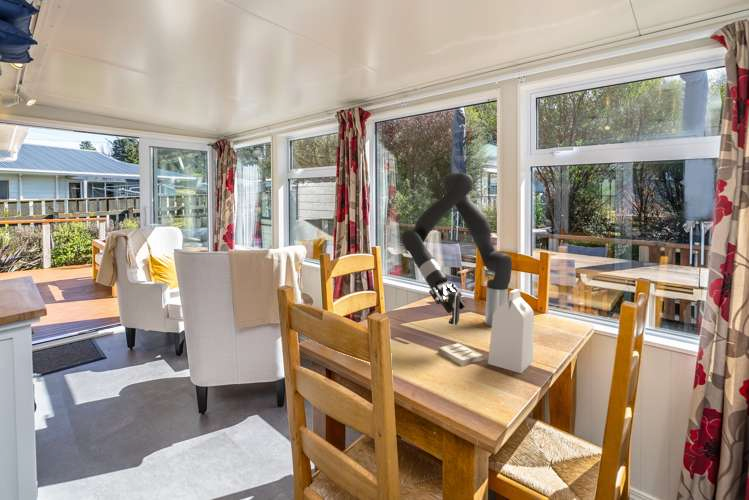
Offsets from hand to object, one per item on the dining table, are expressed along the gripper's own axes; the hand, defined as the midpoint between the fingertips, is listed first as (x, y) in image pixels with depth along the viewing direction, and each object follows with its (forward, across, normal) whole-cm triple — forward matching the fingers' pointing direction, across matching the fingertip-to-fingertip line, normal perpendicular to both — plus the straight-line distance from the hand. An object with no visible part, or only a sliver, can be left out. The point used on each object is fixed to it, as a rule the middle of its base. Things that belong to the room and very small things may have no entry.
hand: (457, 309), depth 142 cm
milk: (+25, +8, -1) cm, 26 cm away
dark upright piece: (+3, 0, +5) cm, 6 cm away
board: (+14, -1, +10) cm, 17 cm away
